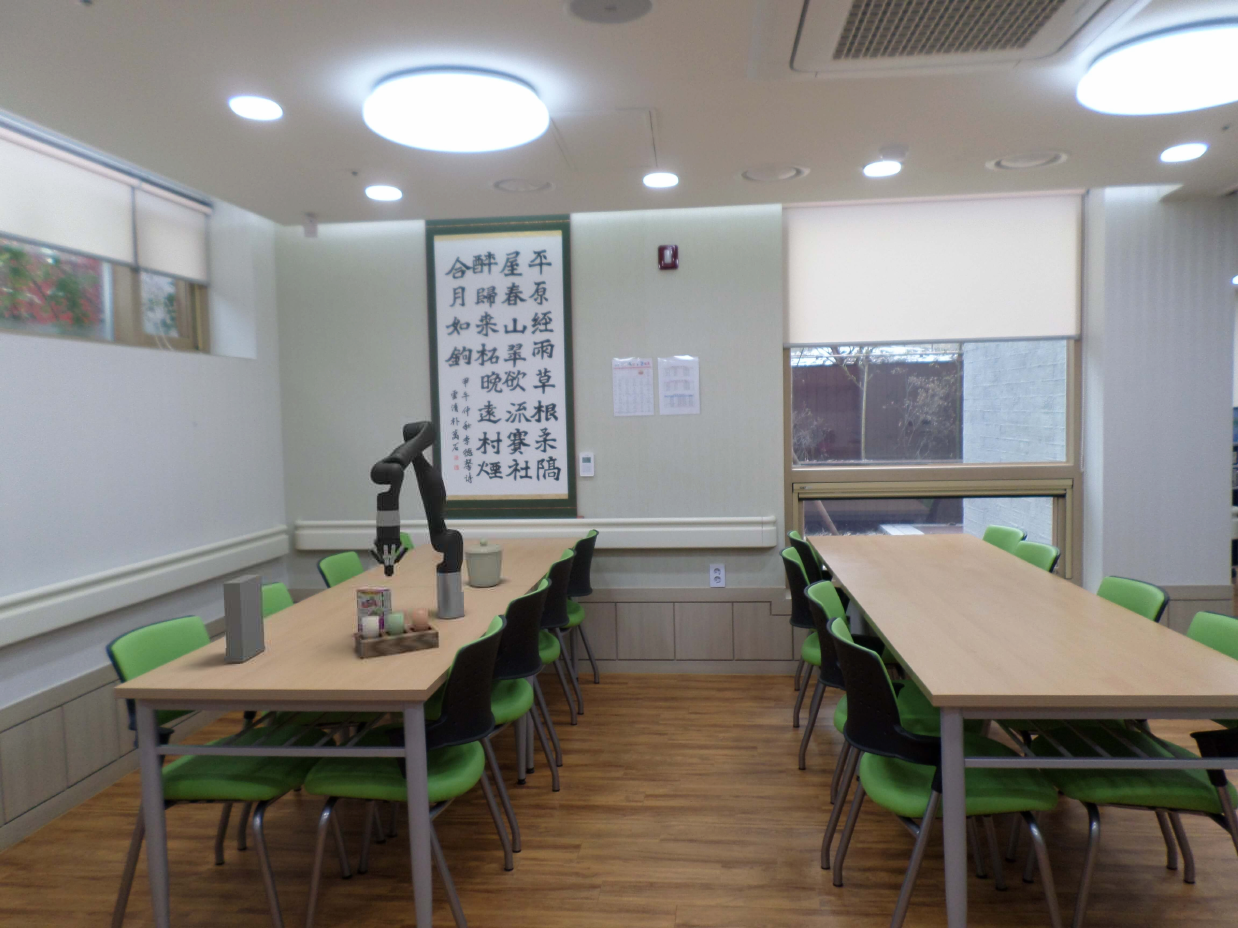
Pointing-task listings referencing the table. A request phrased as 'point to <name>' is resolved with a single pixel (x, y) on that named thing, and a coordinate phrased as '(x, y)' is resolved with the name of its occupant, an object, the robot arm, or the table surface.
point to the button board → (396, 642)
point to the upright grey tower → (243, 618)
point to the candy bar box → (373, 605)
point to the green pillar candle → (395, 623)
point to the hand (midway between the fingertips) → (388, 576)
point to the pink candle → (420, 620)
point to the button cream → (370, 627)
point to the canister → (484, 564)
